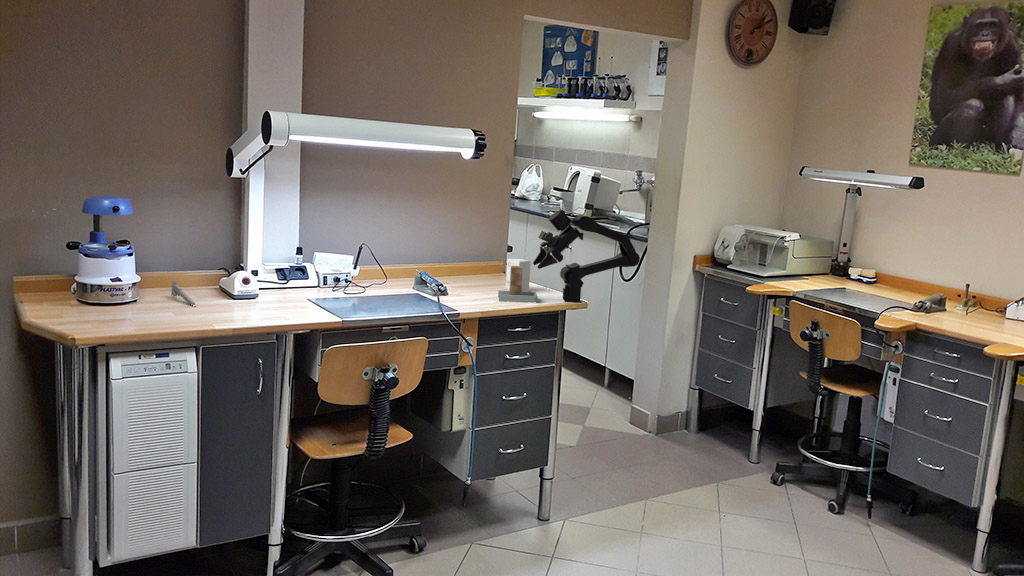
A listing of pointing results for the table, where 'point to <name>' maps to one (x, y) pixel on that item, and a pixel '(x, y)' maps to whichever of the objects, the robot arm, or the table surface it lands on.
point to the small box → (526, 272)
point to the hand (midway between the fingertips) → (535, 266)
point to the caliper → (180, 293)
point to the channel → (517, 296)
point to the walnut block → (516, 280)
